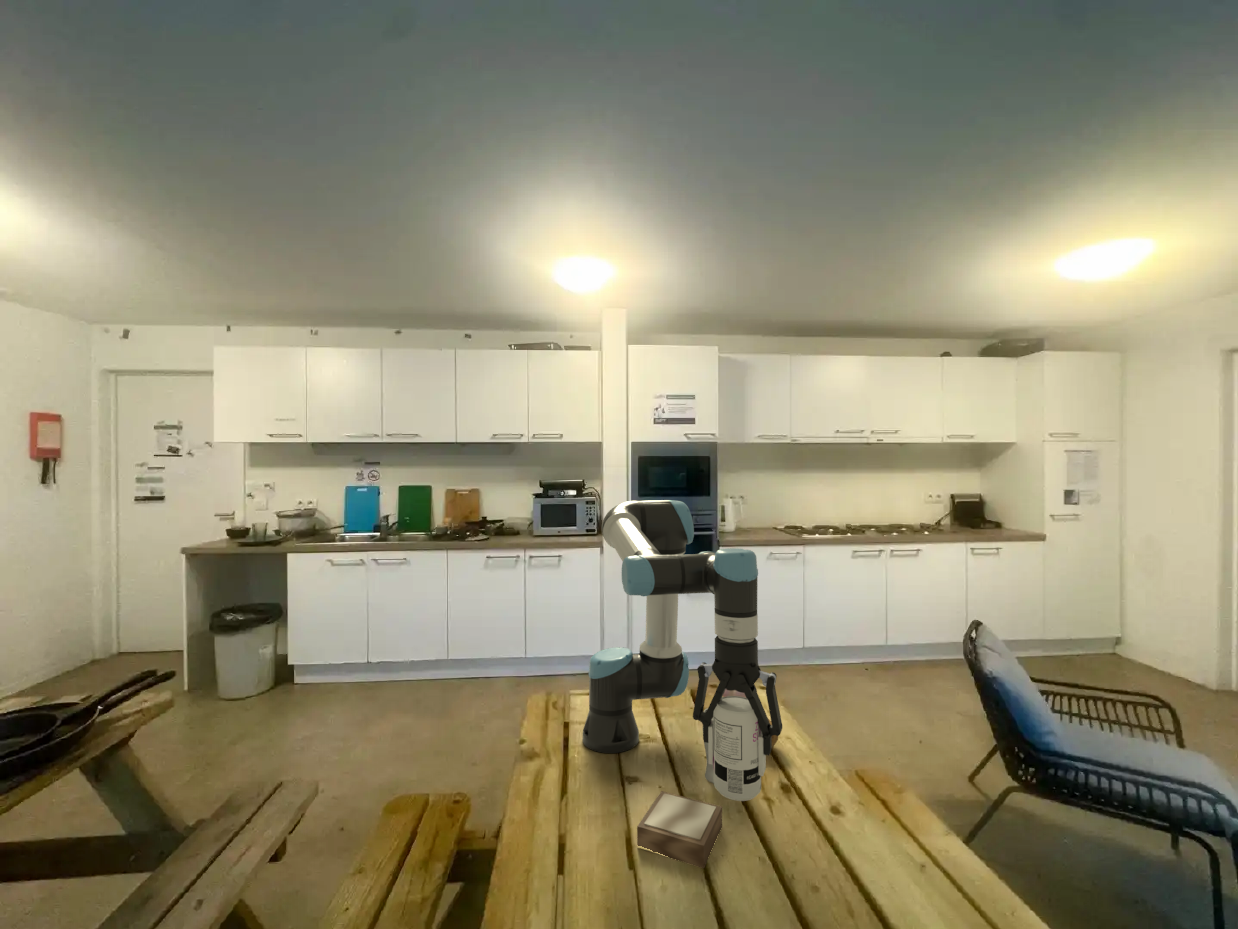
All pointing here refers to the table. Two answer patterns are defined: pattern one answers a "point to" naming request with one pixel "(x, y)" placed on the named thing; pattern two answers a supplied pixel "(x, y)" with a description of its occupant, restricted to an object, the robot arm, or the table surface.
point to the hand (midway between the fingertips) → (736, 766)
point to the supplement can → (736, 749)
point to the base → (680, 828)
